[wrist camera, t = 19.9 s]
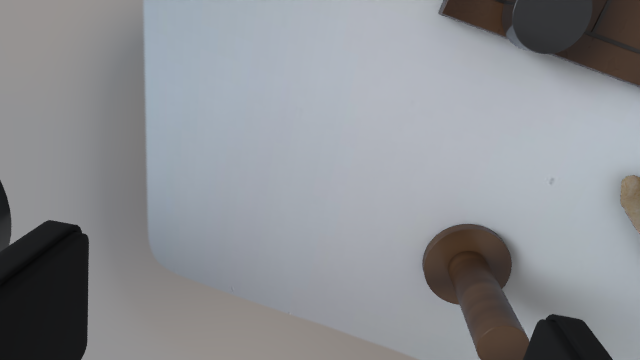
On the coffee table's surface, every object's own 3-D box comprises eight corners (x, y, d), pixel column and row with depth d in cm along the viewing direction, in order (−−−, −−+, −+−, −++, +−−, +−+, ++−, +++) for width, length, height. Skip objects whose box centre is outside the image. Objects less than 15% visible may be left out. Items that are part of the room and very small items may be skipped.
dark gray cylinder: (488, 5, 32) (498, 4, 30) (555, -41, 31) (570, -45, 29) (522, 65, 33) (534, 68, 31) (588, 23, 32) (606, 23, 30)
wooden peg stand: (406, 251, 40) (424, 333, 30) (481, 208, 39) (528, 279, 28) (449, 312, 42) (481, 409, 31) (523, 273, 40) (582, 363, 30)
